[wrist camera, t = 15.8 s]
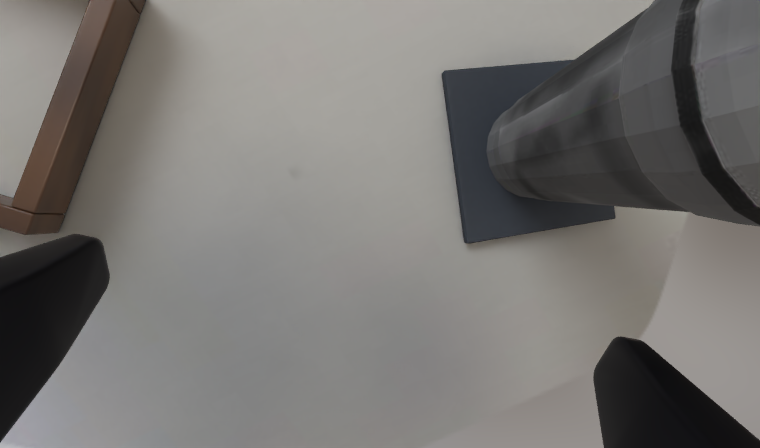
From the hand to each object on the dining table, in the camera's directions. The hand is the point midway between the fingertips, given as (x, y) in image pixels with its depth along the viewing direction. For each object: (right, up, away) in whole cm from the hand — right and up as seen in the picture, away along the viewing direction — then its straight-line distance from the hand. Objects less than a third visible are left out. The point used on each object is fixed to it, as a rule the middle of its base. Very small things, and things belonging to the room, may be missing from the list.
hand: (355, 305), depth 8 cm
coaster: (+8, +5, +14) cm, 16 cm away
